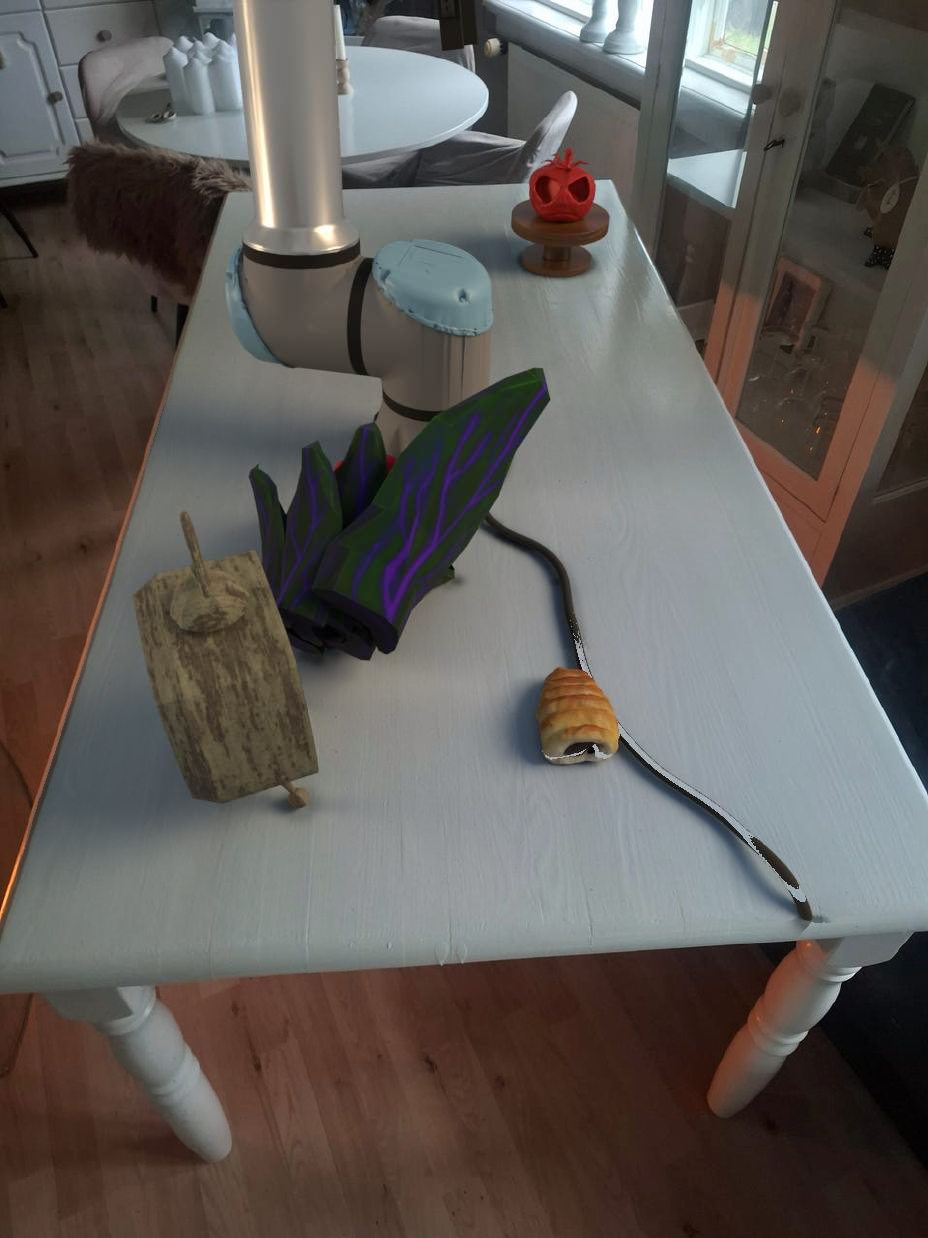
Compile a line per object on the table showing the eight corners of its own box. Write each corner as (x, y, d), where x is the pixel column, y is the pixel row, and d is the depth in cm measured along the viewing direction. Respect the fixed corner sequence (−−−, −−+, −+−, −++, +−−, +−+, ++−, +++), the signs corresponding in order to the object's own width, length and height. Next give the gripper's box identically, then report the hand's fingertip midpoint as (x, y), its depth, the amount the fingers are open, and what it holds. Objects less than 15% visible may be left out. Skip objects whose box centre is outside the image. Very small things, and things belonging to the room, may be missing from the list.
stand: (614, 280, 133) (621, 232, 127) (518, 285, 131) (521, 236, 126) (591, 239, 143) (596, 193, 138) (501, 244, 141) (504, 197, 136)
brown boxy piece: (328, 816, 67) (283, 586, 49) (212, 856, 65) (120, 629, 47) (283, 683, 77) (231, 448, 58) (179, 713, 74) (92, 478, 56)
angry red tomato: (529, 200, 135) (533, 135, 129) (593, 203, 135) (600, 138, 128) (524, 225, 128) (528, 158, 122) (591, 229, 128) (599, 162, 121)
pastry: (526, 681, 77) (530, 653, 74) (601, 678, 77) (607, 649, 75) (542, 770, 71) (546, 742, 68) (623, 765, 71) (630, 738, 68)
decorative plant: (287, 695, 87) (393, 469, 101) (507, 718, 73) (596, 451, 86) (141, 577, 73) (287, 331, 86) (379, 576, 58) (510, 281, 72)
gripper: (429, -150, 112) (448, 46, 124) (387, -182, 91) (415, 55, 104) (486, -159, 110) (500, 40, 122) (457, -194, 90) (476, 48, 102)
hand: (461, 47), depth 113 cm, fingers open, 13 cm apart
